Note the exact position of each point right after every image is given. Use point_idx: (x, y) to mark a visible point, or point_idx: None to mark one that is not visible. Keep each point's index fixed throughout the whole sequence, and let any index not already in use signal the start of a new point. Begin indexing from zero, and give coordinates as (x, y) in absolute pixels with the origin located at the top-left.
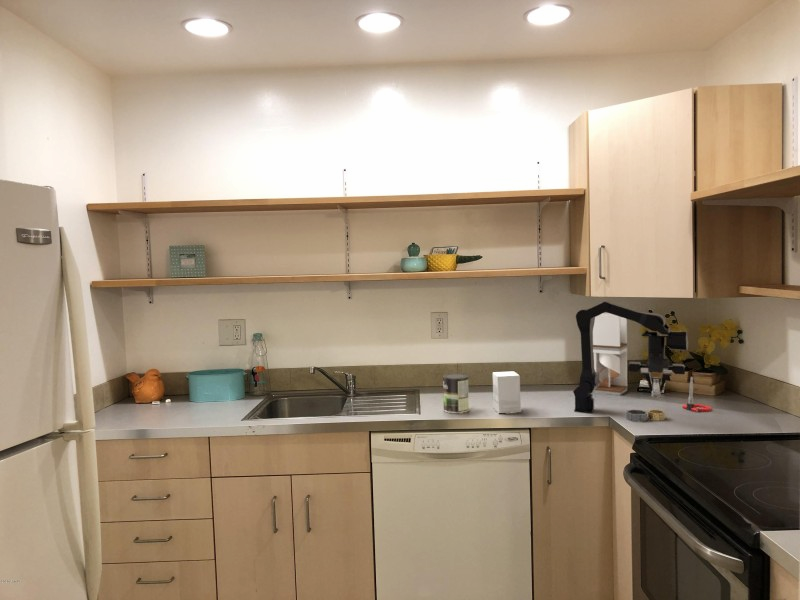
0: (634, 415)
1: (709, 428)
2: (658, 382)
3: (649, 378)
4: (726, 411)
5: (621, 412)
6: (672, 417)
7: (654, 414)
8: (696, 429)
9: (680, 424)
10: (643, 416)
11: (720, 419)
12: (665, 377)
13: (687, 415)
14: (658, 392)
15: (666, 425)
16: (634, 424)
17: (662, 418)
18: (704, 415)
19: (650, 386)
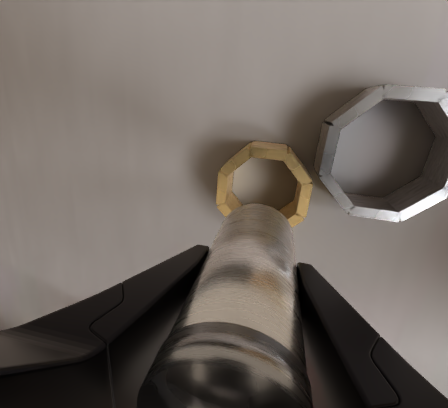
0: (423, 88)
1: (34, 51)
2: (202, 303)
3: (379, 401)
4: (24, 317)
5: (434, 270)
6: (190, 215)
7: (278, 149)
8: (82, 6)
9: (156, 91)
10: (353, 103)
11: (22, 216)
12: (3, 339)
13: (133, 255)
14: (231, 225)
15: (224, 46)
16: (424, 4)
17: (236, 154)
18: (77, 263)
19: (320, 288)
